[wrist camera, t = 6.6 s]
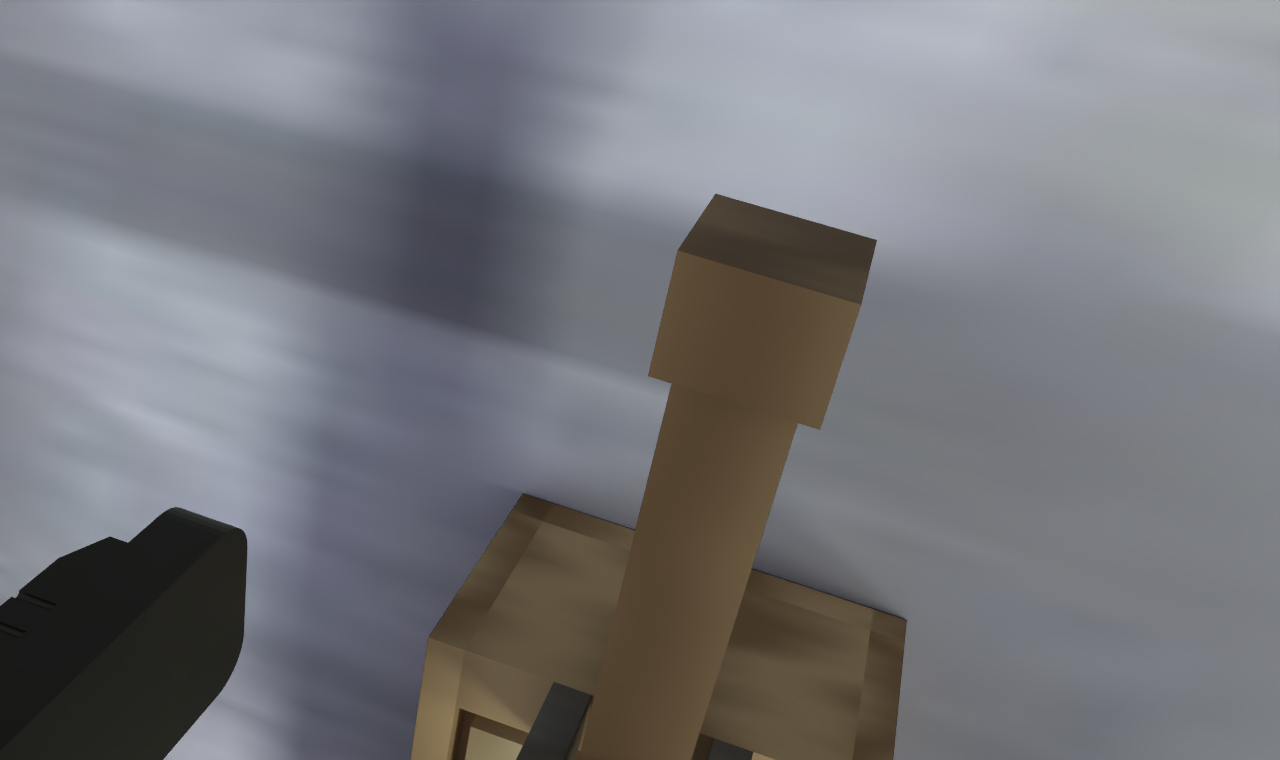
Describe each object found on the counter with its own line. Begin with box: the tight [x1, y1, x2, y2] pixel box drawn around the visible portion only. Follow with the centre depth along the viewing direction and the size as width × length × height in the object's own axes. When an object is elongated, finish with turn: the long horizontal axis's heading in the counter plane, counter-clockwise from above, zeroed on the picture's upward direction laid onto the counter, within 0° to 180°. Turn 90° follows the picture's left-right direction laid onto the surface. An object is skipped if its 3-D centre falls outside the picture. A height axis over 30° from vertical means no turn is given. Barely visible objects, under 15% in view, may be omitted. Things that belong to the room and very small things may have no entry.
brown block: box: [578, 194, 877, 760], centre depth 24 cm, size 3×14×3 cm, turn 169°
